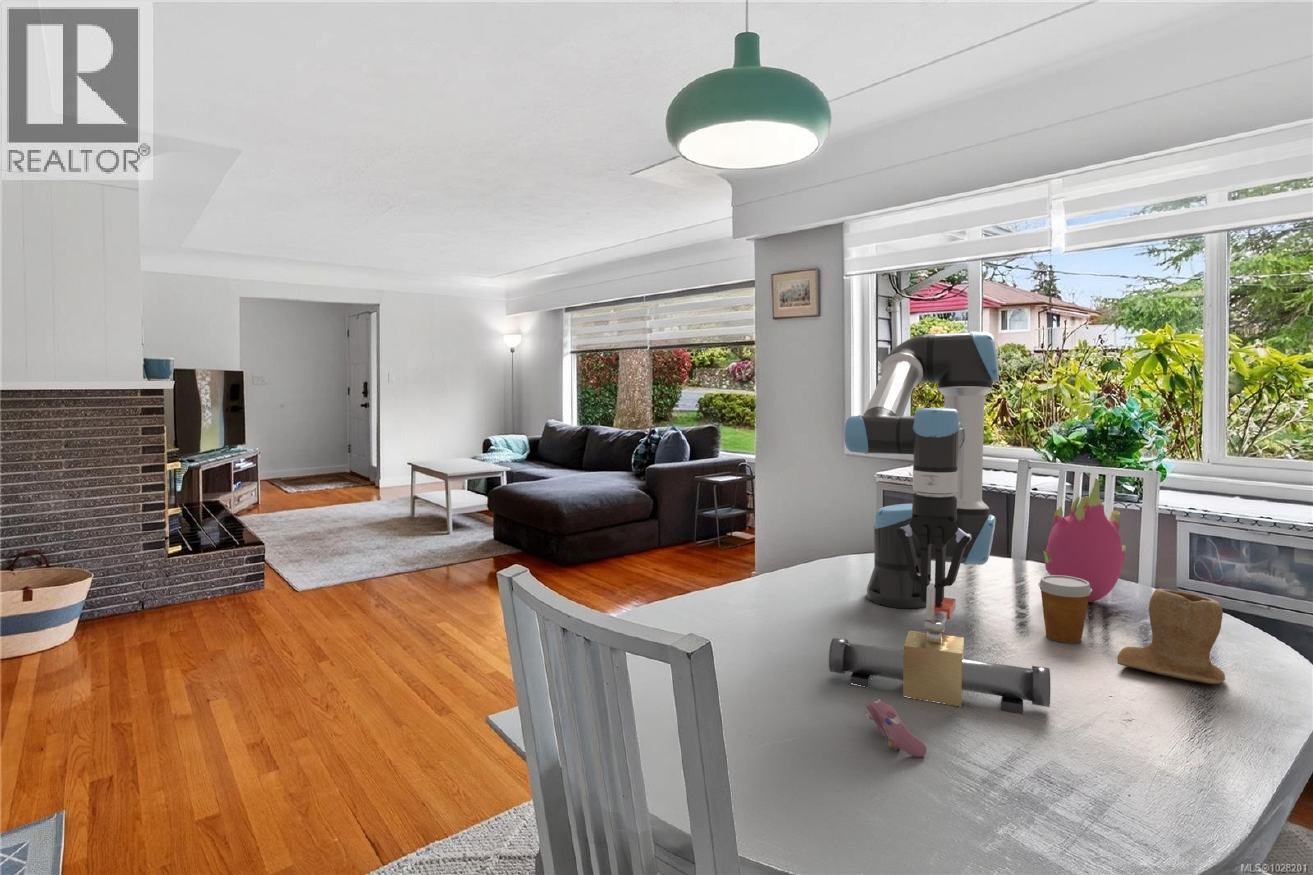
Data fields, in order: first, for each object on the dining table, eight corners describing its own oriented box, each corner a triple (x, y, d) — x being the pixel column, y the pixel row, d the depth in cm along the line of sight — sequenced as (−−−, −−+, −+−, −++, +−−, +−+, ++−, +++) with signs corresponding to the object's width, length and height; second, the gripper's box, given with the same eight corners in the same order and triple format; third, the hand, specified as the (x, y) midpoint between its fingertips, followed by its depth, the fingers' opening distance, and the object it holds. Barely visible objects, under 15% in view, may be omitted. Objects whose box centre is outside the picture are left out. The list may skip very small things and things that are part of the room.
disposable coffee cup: (1098, 647, 139) (1100, 588, 138) (1046, 645, 140) (1047, 586, 140) (1079, 631, 148) (1081, 575, 147) (1030, 628, 150) (1032, 573, 149)
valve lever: (942, 635, 117) (943, 625, 117) (922, 632, 118) (922, 622, 118) (957, 608, 131) (957, 599, 130) (938, 606, 132) (939, 596, 132)
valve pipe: (836, 668, 131) (837, 611, 130) (1046, 701, 116) (1048, 637, 115) (827, 684, 124) (827, 625, 123) (1050, 722, 109) (1051, 654, 108)
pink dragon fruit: (1109, 594, 173) (1113, 473, 170) (1137, 611, 159) (1141, 481, 157) (1032, 591, 176) (1034, 473, 174) (1052, 608, 162) (1055, 480, 160)
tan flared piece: (1226, 672, 126) (1229, 591, 125) (1223, 695, 117) (1227, 607, 116) (1126, 652, 136) (1128, 576, 135) (1115, 672, 127) (1118, 591, 126)
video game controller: (875, 737, 108) (855, 699, 108) (900, 722, 109) (881, 684, 108) (904, 771, 99) (882, 730, 98) (931, 755, 99) (910, 714, 98)
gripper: (892, 493, 127) (890, 619, 129) (968, 499, 120) (965, 633, 122) (903, 487, 134) (901, 608, 135) (977, 493, 126) (973, 620, 128)
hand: (931, 620), depth 129 cm, fingers closed
